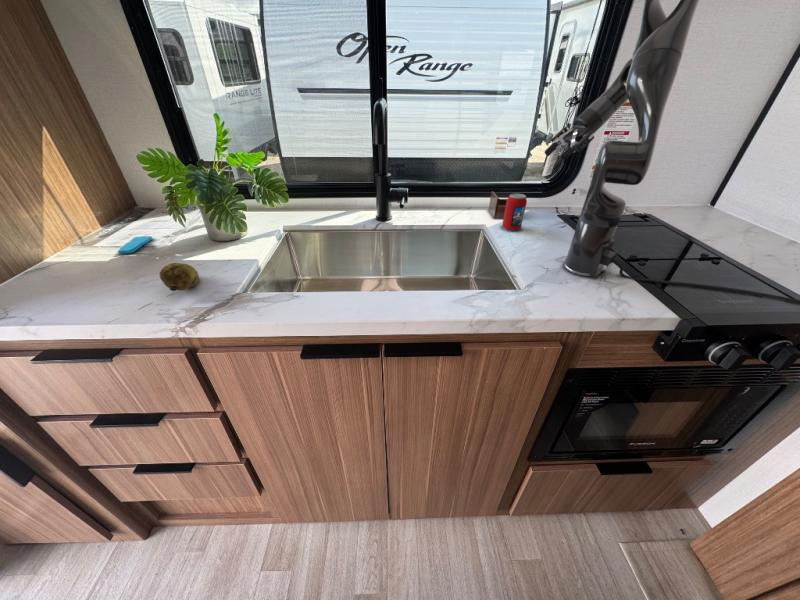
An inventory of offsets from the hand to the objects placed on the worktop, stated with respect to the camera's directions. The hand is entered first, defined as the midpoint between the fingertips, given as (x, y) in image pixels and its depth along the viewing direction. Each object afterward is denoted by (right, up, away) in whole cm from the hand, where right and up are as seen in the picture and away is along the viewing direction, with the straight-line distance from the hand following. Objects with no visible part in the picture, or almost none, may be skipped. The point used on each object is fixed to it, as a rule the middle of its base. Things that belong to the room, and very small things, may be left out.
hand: (553, 156), depth 108 cm
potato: (-107, -45, -24) cm, 119 cm away
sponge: (-139, -31, -3) cm, 142 cm away
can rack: (-9, -13, +23) cm, 29 cm away
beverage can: (-10, -22, +11) cm, 27 cm away
